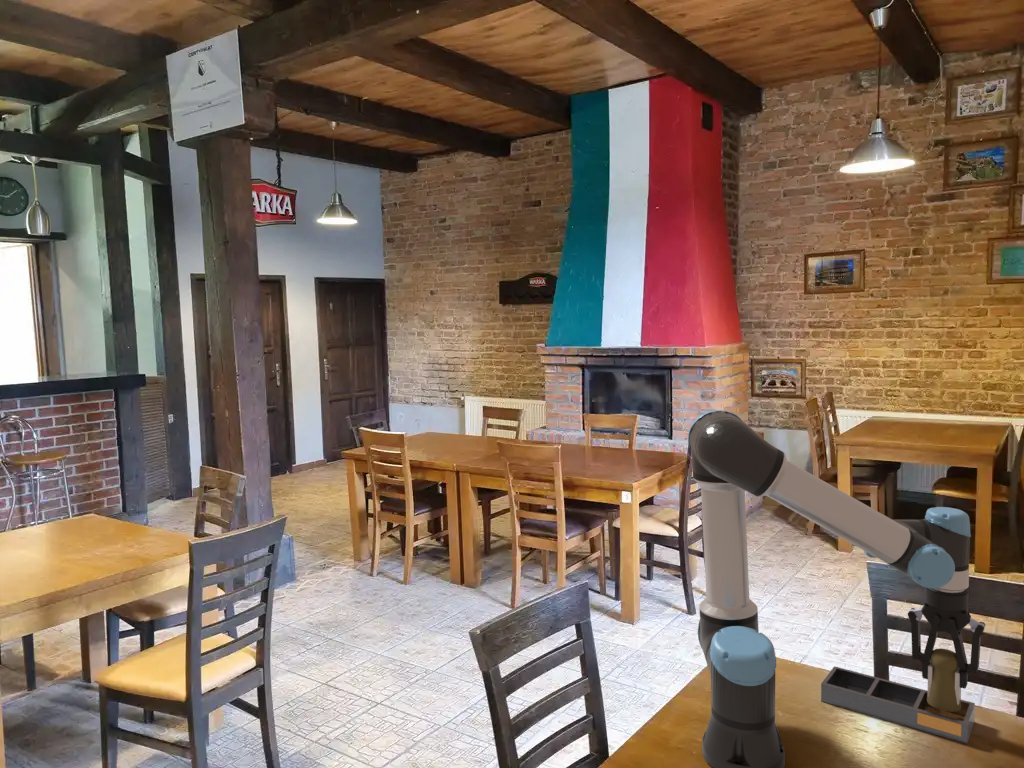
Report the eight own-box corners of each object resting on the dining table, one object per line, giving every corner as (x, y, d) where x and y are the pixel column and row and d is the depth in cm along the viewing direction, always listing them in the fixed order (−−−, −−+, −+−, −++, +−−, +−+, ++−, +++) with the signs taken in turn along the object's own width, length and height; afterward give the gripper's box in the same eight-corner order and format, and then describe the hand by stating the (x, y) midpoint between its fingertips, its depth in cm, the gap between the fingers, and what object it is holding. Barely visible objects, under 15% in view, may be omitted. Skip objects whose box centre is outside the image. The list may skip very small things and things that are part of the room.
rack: (974, 721, 150) (974, 703, 150) (966, 744, 143) (967, 724, 143) (834, 683, 168) (834, 666, 167) (820, 701, 160) (821, 683, 160)
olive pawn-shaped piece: (966, 712, 146) (967, 659, 145) (932, 710, 147) (933, 657, 146) (954, 696, 152) (955, 645, 151) (922, 694, 153) (923, 643, 152)
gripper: (999, 589, 144) (996, 702, 147) (902, 572, 155) (901, 678, 158) (995, 601, 139) (991, 719, 141) (894, 583, 149) (893, 693, 152)
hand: (944, 697), depth 149 cm, fingers closed on olive pawn-shaped piece, 4 cm apart
